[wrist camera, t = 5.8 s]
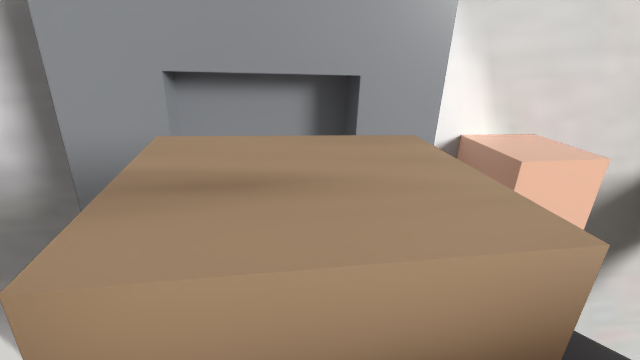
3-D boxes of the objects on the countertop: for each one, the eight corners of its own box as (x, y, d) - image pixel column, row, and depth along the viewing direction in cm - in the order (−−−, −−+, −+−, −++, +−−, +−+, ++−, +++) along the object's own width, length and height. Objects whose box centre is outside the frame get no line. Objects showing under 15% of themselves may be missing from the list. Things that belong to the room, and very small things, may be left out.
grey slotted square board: (389, 260, 22) (409, 290, 20) (128, 282, 19) (109, 322, 17) (427, -14, 16) (462, -25, 14) (58, -43, 13) (10, -64, 11)
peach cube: (512, 205, 23) (577, 246, 18) (445, 209, 22) (496, 253, 17) (532, 133, 21) (610, 159, 16) (460, 134, 20) (522, 161, 16)
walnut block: (386, 320, 11) (489, 529, 6) (185, 344, 9) (125, 624, 5) (415, 135, 8) (609, 244, 4) (156, 136, 7) (-4, 295, 3)
